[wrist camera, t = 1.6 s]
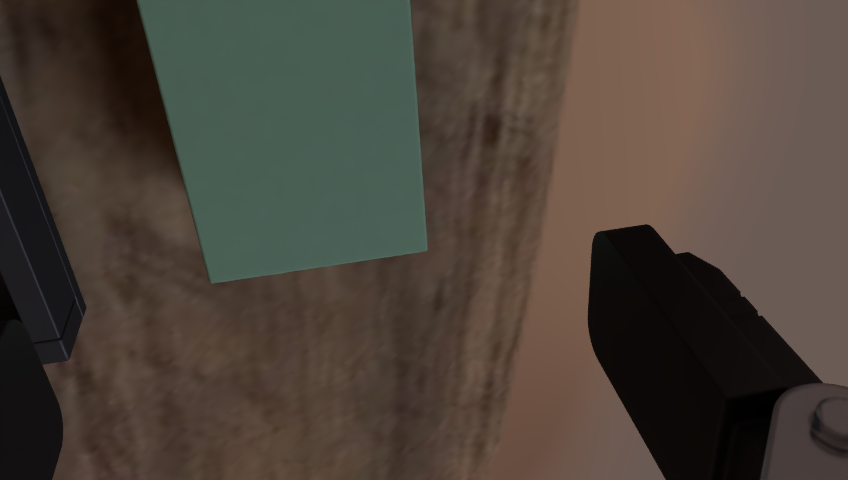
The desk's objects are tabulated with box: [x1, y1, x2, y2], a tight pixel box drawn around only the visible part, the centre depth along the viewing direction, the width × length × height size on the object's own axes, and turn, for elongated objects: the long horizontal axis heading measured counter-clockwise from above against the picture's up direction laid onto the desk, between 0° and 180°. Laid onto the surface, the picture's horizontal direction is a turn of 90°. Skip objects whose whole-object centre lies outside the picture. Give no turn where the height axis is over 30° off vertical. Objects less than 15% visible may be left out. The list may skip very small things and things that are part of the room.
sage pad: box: [136, 0, 428, 283], centre depth 19 cm, size 6×8×4 cm
